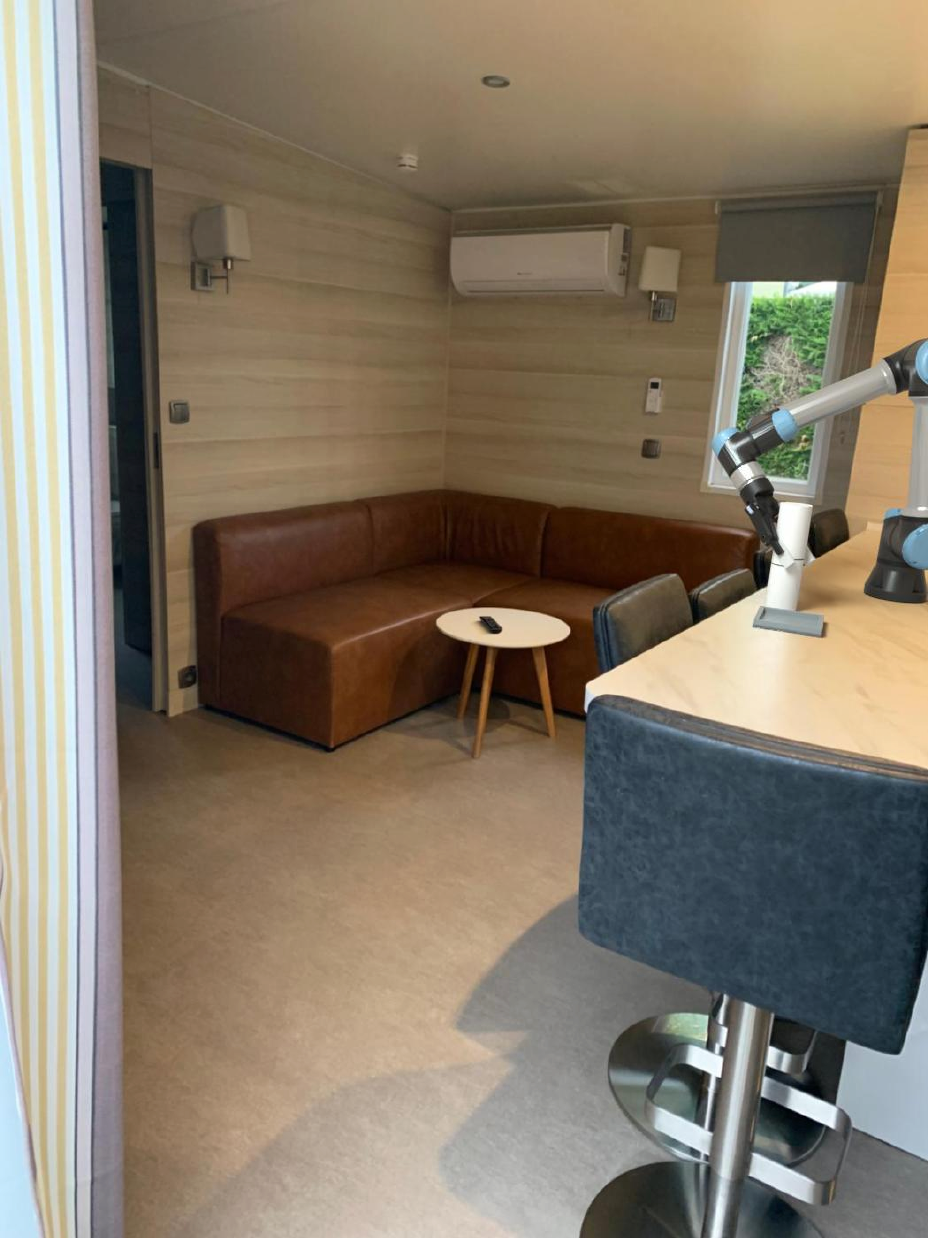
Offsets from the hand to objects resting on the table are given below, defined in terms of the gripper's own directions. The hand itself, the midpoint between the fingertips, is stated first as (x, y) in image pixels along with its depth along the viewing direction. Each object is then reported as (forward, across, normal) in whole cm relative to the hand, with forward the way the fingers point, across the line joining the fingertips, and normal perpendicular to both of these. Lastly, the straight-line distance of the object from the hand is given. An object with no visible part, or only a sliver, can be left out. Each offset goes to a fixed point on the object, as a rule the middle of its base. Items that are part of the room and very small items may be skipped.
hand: (800, 564), depth 207 cm
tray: (+13, +11, -3) cm, 18 cm away
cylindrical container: (+6, 0, -11) cm, 12 cm away
